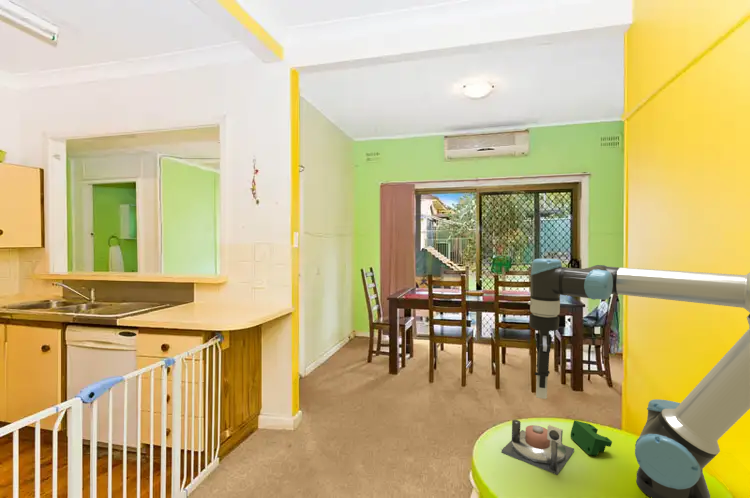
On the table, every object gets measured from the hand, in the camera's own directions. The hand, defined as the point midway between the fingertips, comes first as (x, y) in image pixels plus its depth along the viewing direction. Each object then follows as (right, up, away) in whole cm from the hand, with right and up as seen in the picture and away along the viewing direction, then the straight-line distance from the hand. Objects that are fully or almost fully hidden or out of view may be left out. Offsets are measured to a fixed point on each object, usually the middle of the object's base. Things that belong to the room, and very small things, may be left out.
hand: (541, 397), depth 109 cm
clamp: (+20, -21, +12) cm, 31 cm away
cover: (+3, -18, +10) cm, 20 cm away
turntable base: (+3, -20, +9) cm, 22 cm away
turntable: (+3, -20, +9) cm, 22 cm away
